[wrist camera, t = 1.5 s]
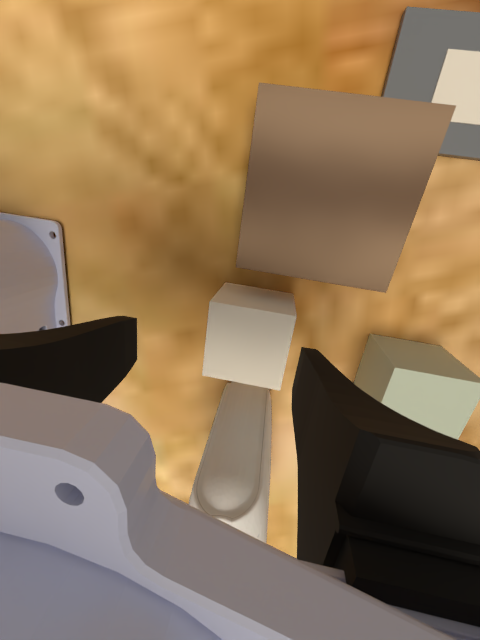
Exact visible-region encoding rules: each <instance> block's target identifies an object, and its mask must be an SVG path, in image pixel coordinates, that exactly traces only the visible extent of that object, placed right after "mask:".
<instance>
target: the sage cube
mask: <svg viewBox="0 0 480 640" xmlns="http://www.w3.org/2000/svg"><path fill="white" fill-rule="evenodd" d="M354 384H355V385H356V386H357V387H359V388H360V389H361V390H363V391H364V392H366V393H367V394H368V395H370V396H371V397H373V398H374V399H376V400H377V401H379V402H380V403H382V404H384V405H385V406H387V407H389V408H391V409H392V410H394V411H396V412H398V413H399V414H401V415H403V416H405V417H407V418H409V419H411V420H413V421H415V422H417V423H419V424H421V425H424V426H426V427H428V428H430V429H432V430H435V431H437V432H439V433H442V434H444V435H447V436H449V437H452V438H455V439H457V440H458V438H459V436H460V435H461V433H462V431H463V429H464V427H465V425H466V423H467V422H468V420H469V418H470V416H471V414H472V412H473V410H474V409H475V407H476V405H477V403H478V401H479V399H480V378H479V377H478V376H477V375H475V374H474V373H473V372H472V371H471V370H469V369H468V368H467V367H466V366H465V365H463V364H462V363H461V362H460V361H459V360H457V359H456V358H455V357H454V356H453V355H451V354H450V353H449V352H448V351H447V350H445V349H444V348H443V347H442V346H438V345H432V344H427V343H421V342H415V341H410V340H404V339H398V338H393V337H387V336H381V335H375V334H370V335H369V338H368V341H367V344H366V347H365V350H364V353H363V356H362V359H361V362H360V365H359V368H358V371H357V374H356V377H355V380H354Z"/></svg>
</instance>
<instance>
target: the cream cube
mask: <svg viewBox="0 0 480 640" xmlns="http://www.w3.org/2000/svg"><path fill="white" fill-rule="evenodd" d="M296 317H297V316H296V309H295V302H294V294H293V293H287V292H281V291H275V290H269V289H263V288H257V287H251V286H245V285H239V284H233V283H227V282H225V283H224V285H223V286H222V287H221V288H220V289H219V291H218V292H217V293H216V294H215V295H214V297H213V298H212V299H211V300H210V302H209V312H208V322H207V332H206V342H205V352H204V362H203V372H202V375H203V376H208V377H213V378H218V379H223V380H228V381H233V382H238V383H243V384H249V385H254V386H259V387H264V388H269V389H274V390H279V391H280V388H281V384H282V379H283V375H284V370H285V366H286V361H287V357H288V353H289V348H290V344H291V339H292V335H293V330H294V326H295V321H296Z"/></svg>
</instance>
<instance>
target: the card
mask: <svg viewBox="0 0 480 640" xmlns="http://www.w3.org/2000/svg"><path fill="white" fill-rule="evenodd" d="M381 97H387V98H395V99H404V100H413V101H421V102H430V103H439V104H447V105H456V108H455V111H454V113H453V116H452V119H451V121H450V124H449V127H448V129H447V132H446V135H445V137H444V140H443V143H442V145H441V148H440V151H439V153H438V156H446V157H454V158H462V159H471V160H479V161H480V13H478V12H466V11H454V10H441V9H429V8H417V7H407V8H406V9H405V11H404V13H403V15H402V19H401V23H400V27H399V31H398V35H397V38H396V42H395V46H394V50H393V54H392V58H391V61H390V65H389V69H388V73H387V77H386V81H385V84H384V88H383V92H382V96H381Z"/></svg>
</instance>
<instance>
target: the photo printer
mask: <svg viewBox="0 0 480 640" xmlns="http://www.w3.org/2000/svg"><path fill="white" fill-rule="evenodd" d="M271 435H272V405H271V396H270V390H269V388H264V387H259V386H254V385H249V384H243V383H238V382H233V381H232V382H231V383H227V384H226V386H225V388H224V391H223V394H222V397H221V400H220V403H219V406H218V409H217V413H216V416H215V419H214V422H213V425H212V428H211V431H210V434H209V437H208V440H207V444H206V447H205V450H204V453H203V456H202V459H201V462H200V465H199V468H198V471H197V474H196V477H195V480H194V484H193V488H192V492H191V496H190V500H189V505H191V506H193V507H195V508H197V509H199V510H201V511H203V512H205V513H207V514H209V515H211V516H213V517H215V518H217V519H219V520H221V521H223V522H225V523H227V524H229V525H231V526H233V527H235V528H237V529H239V530H241V531H243V532H245V533H246V534H248V535H250V536H252V537H254V538H256V539H258V540H260V541H262V542H264V543H266V540H267V522H268V505H269V488H270V470H271Z"/></svg>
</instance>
